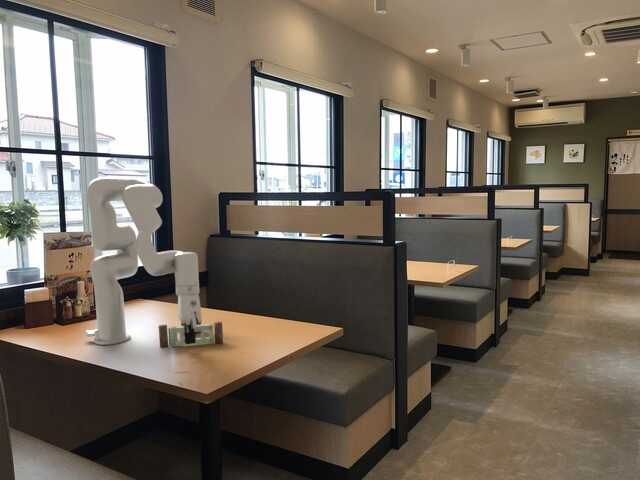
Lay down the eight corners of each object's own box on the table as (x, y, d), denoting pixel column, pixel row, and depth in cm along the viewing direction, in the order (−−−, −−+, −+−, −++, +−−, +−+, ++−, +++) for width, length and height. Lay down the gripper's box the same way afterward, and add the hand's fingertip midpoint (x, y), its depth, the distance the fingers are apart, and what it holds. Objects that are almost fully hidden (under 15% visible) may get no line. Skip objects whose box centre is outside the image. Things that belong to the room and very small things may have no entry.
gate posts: (159, 348, 174) (157, 326, 173) (161, 344, 178) (160, 323, 177) (222, 344, 176) (221, 323, 176) (223, 340, 180) (222, 320, 180)
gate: (170, 347, 173) (169, 328, 173) (170, 345, 176) (169, 326, 175) (213, 343, 176) (212, 325, 175) (213, 341, 178) (212, 323, 178)
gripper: (206, 291, 163) (209, 346, 165) (190, 284, 175) (193, 336, 177) (184, 294, 159) (186, 350, 160) (169, 287, 171) (172, 339, 173)
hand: (190, 342), depth 169 cm, fingers closed
